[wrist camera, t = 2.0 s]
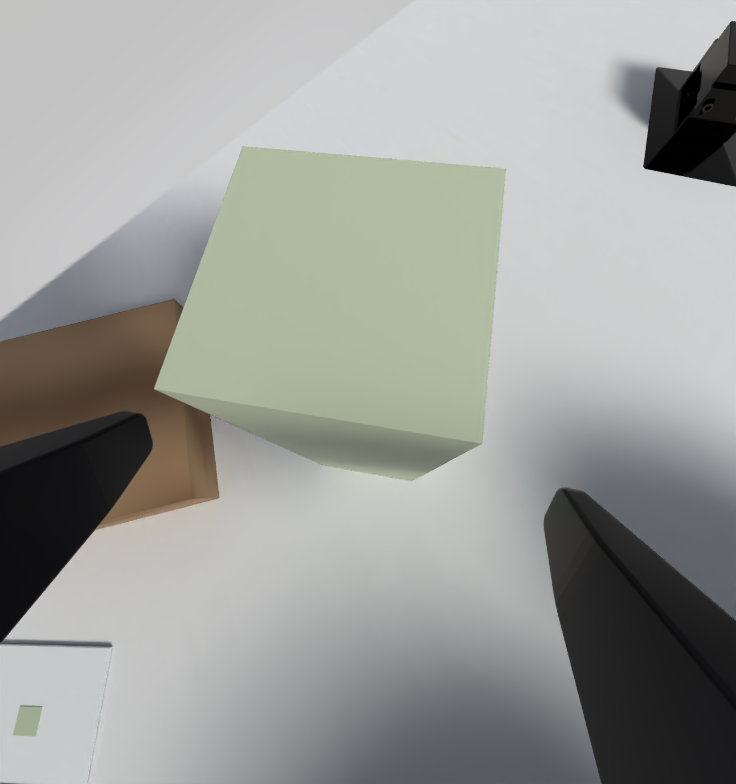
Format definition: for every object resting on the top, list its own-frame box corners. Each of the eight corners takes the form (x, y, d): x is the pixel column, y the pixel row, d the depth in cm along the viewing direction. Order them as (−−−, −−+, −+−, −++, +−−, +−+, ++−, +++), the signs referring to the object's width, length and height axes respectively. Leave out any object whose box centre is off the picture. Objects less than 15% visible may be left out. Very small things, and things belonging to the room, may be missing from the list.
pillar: (411, 481, 17) (481, 443, 4) (322, 465, 17) (153, 389, 5) (424, 393, 18) (505, 169, 6) (340, 380, 18) (242, 145, 6)
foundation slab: (219, 498, 17) (191, 498, 15) (19, 548, 17) (-42, 558, 14) (199, 322, 20) (173, 299, 18) (29, 364, 20) (-21, 346, 17)
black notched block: (742, 217, 21) (838, 143, 16) (615, 192, 22) (673, 116, 17) (750, 76, 24) (831, -18, 19) (638, 60, 25) (692, -33, 20)
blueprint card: (60, 928, 13) (55, 934, 13) (-89, 918, 13) (-96, 924, 13) (112, 646, 15) (108, 648, 15) (-14, 643, 16) (-19, 645, 16)
